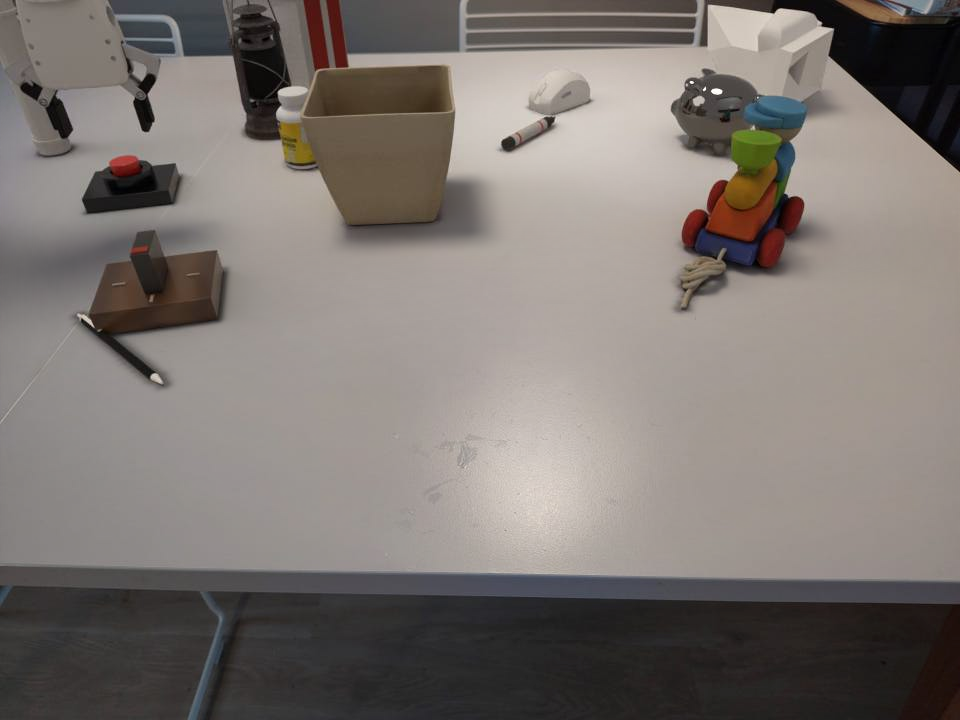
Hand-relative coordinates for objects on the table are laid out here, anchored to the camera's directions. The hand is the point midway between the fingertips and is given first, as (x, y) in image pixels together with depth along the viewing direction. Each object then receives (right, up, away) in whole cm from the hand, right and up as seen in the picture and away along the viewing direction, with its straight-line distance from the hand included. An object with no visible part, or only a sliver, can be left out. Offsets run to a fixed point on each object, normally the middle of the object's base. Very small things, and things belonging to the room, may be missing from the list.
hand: (108, 131), depth 87 cm
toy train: (+80, -15, +3) cm, 81 cm away
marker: (+56, +10, +33) cm, 66 cm away
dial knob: (+9, -20, -7) cm, 23 cm away
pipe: (-26, +7, +32) cm, 42 cm away
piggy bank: (+86, +7, +29) cm, 91 cm away
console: (+9, -22, -5) cm, 24 cm away
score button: (-6, -1, +16) cm, 17 cm away
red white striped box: (+10, +27, +55) cm, 62 cm away
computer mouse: (+63, +20, +46) cm, 80 cm away
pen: (+8, -28, -12) cm, 31 cm away
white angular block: (+100, +23, +47) cm, 113 cm away
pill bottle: (+19, +3, +26) cm, 32 cm away
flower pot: (+35, -6, +14) cm, 38 cm away
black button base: (-6, -4, +18) cm, 19 cm away
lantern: (+10, +13, +38) cm, 42 cm away
